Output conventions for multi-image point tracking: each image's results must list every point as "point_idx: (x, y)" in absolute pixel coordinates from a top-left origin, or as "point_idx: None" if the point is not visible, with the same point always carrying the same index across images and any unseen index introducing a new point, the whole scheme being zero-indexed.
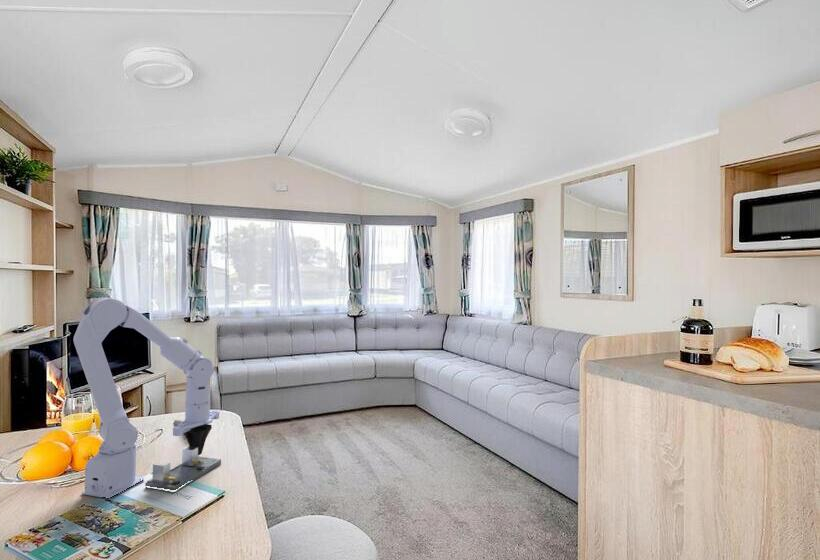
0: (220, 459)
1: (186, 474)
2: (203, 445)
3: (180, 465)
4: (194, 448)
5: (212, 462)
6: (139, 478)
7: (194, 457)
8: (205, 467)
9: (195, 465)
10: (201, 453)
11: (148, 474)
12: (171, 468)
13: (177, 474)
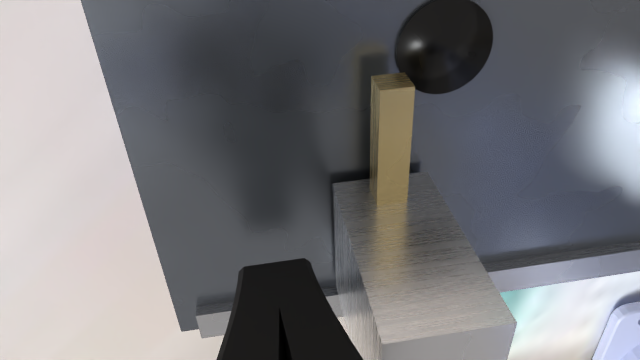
0: (85, 6)
1: (619, 68)
2: (233, 353)
3: None
4: (445, 347)
5: (229, 39)
6: (626, 335)
7: (416, 234)
8: (403, 3)
9: None
10: (246, 268)
11: (514, 351)
12: (523, 278)
13: (617, 151)
